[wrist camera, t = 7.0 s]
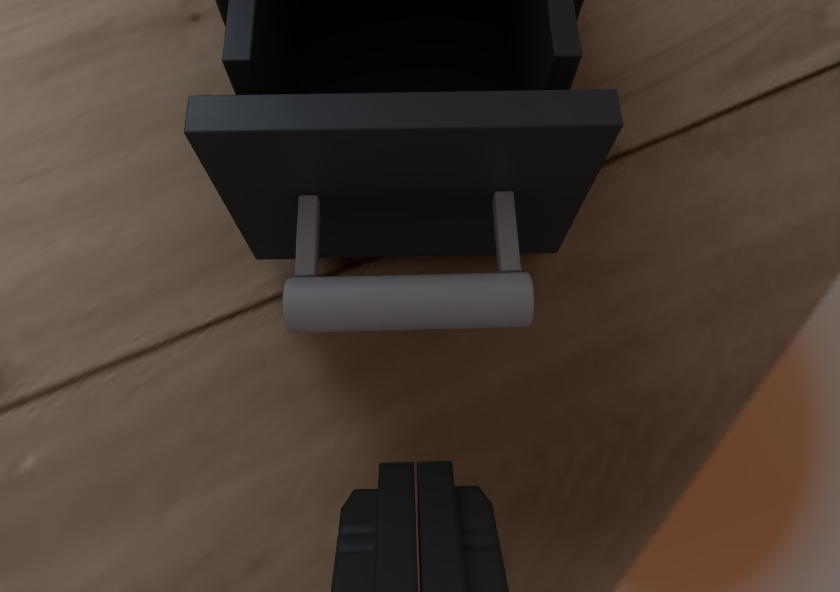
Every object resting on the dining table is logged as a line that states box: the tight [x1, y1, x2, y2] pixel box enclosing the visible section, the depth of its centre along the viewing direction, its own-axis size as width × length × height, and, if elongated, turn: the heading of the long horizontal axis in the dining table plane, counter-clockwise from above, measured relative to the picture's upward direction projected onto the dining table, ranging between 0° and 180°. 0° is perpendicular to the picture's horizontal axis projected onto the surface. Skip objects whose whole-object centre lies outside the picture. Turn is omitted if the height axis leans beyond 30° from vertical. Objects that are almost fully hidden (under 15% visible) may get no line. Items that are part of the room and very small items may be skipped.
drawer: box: [184, 0, 623, 333], centre depth 21 cm, size 18×11×8 cm, turn 2°
